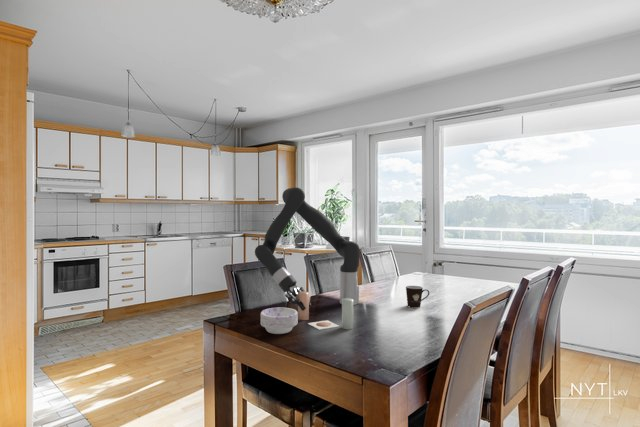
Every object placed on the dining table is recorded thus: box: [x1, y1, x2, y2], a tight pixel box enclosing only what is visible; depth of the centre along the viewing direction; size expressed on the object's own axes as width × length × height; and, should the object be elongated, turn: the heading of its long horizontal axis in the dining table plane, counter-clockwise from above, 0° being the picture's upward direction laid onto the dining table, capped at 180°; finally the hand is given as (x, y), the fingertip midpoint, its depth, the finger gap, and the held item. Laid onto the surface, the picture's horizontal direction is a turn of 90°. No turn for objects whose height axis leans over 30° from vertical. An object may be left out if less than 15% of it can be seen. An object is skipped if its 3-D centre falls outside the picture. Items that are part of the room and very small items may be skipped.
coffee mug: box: [405, 285, 430, 308], centre depth 207 cm, size 12×9×10 cm
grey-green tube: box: [341, 298, 354, 331], centre depth 168 cm, size 5×5×12 cm
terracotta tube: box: [297, 291, 310, 321], centre depth 182 cm, size 5×5×12 cm
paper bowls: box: [260, 306, 299, 335], centre depth 164 cm, size 15×15×8 cm
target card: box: [307, 319, 340, 331], centre depth 172 cm, size 10×10×1 cm
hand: (307, 308), depth 181 cm, fingers closed on terracotta tube, 4 cm apart
